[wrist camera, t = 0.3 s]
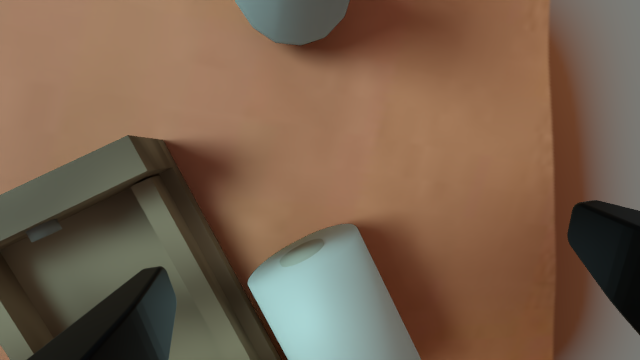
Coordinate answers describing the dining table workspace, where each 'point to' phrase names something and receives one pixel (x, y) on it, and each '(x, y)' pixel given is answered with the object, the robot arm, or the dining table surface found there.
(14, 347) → the cradle
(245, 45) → the dining table surface
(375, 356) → the cylinder
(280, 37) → the salt shaker
